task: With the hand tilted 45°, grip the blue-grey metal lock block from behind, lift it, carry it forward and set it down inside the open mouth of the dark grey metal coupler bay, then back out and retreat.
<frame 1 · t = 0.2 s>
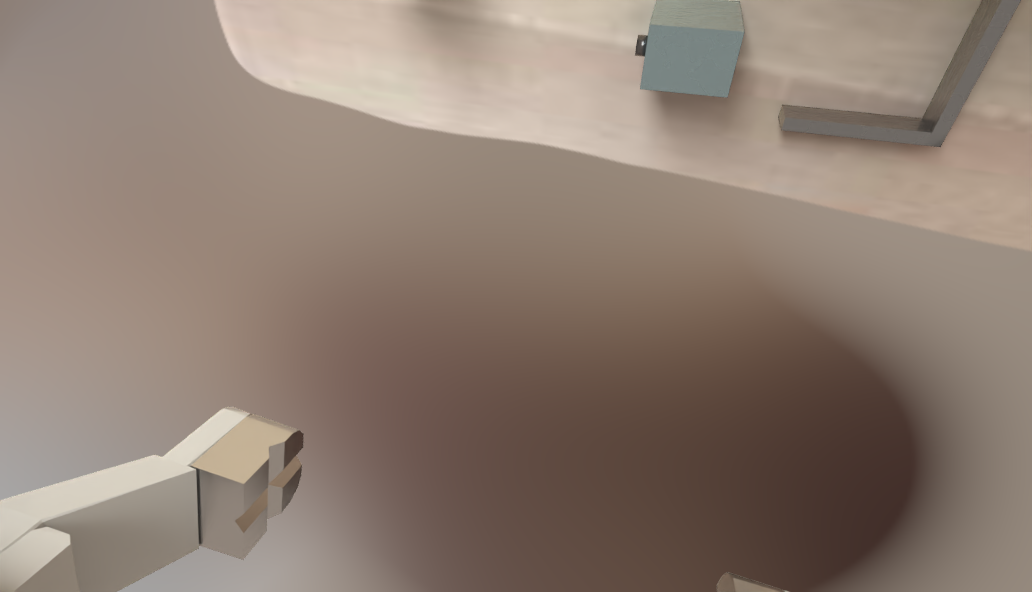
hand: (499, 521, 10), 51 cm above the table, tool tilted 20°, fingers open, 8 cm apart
coupler bay: (879, 43, 47), on the table
lock block: (692, 28, 50), on the table
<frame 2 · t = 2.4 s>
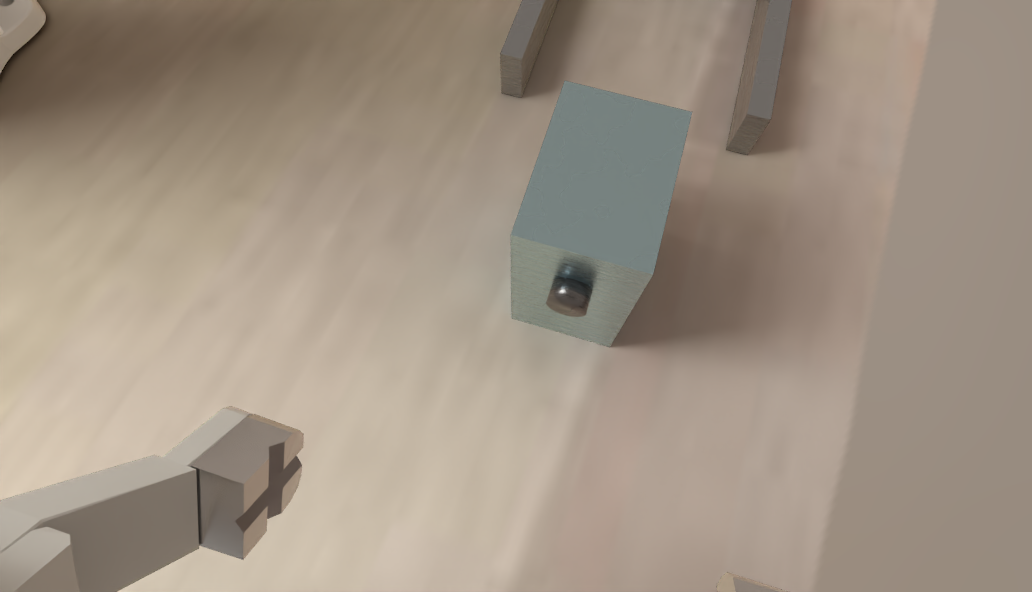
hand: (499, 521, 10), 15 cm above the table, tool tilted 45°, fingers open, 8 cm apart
coupler bay: (644, 45, 34), on the table
lock block: (578, 270, 28), on the table
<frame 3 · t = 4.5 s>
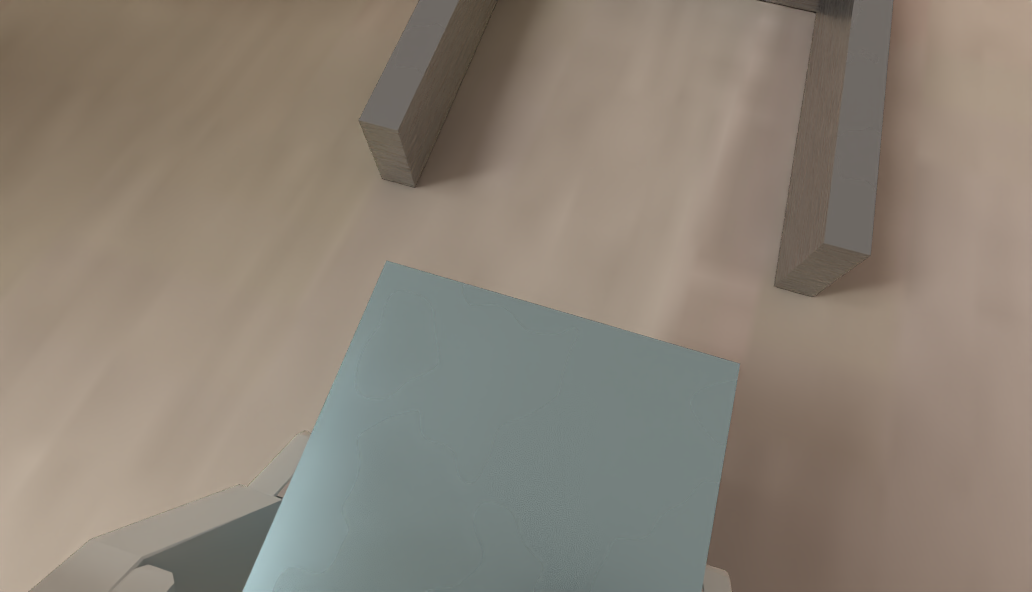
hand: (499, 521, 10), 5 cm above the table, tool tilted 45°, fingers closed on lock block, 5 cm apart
coupler bay: (630, 93, 20), on the table
lock block: (497, 542, 15), on the table, touching gripper
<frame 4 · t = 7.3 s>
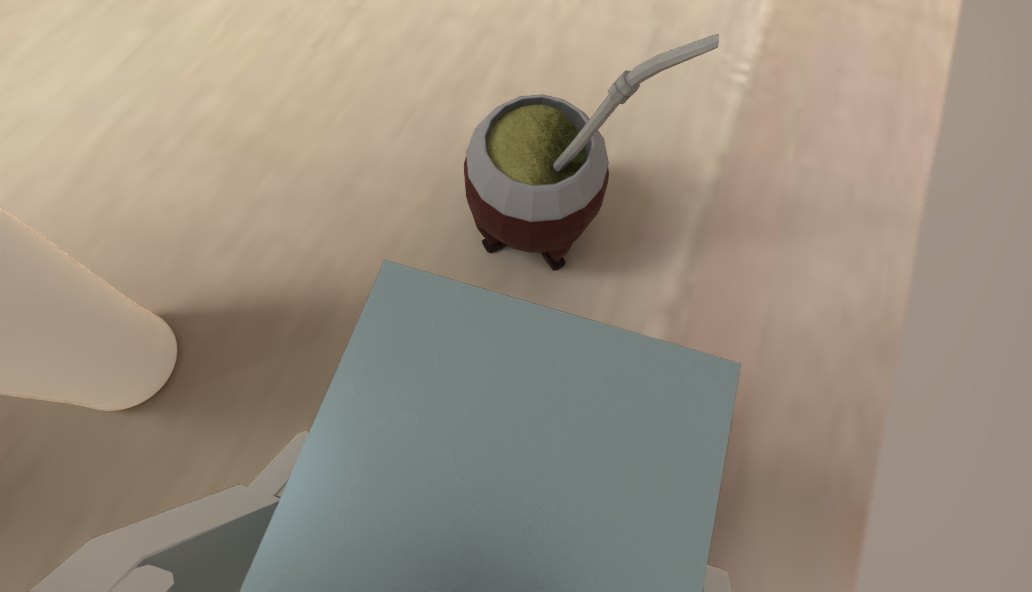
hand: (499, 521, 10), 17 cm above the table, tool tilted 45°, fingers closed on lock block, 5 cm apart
lock block: (497, 543, 15), point 12 cm above the table, touching gripper
mate gourd: (541, 227, 32), on the table
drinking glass: (133, 362, 29), on the table
when the fingers open (6 cm above the table, at t = 10.0 s): lock block stays where it is, on the table.
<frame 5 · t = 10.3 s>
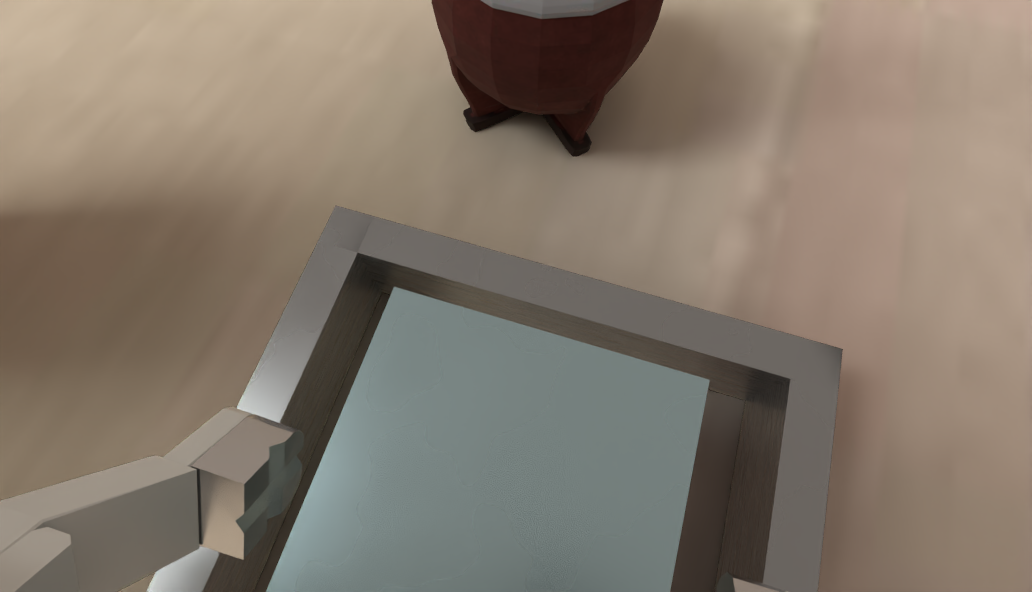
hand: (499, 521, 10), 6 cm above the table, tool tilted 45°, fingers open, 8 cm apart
coupler bay: (498, 540, 16), on the table
lock block: (495, 540, 16), on the table
mate gourd: (553, 97, 21), on the table
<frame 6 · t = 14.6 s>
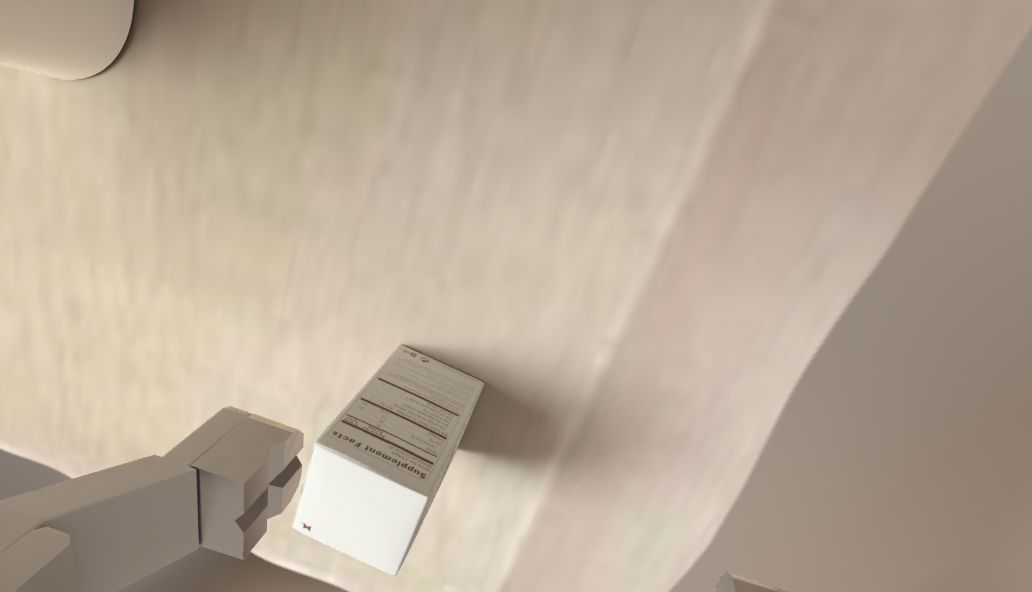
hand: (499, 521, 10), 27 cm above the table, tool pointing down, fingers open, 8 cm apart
supplement box: (431, 395, 44), on the table
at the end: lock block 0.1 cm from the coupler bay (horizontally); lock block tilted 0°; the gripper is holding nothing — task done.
